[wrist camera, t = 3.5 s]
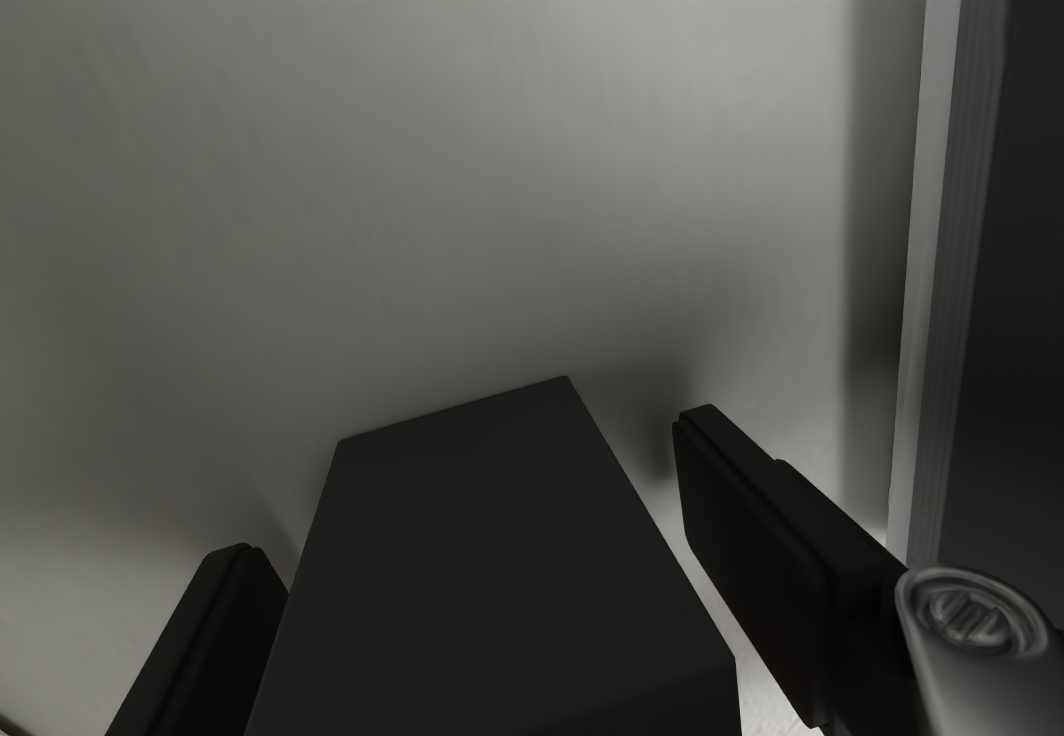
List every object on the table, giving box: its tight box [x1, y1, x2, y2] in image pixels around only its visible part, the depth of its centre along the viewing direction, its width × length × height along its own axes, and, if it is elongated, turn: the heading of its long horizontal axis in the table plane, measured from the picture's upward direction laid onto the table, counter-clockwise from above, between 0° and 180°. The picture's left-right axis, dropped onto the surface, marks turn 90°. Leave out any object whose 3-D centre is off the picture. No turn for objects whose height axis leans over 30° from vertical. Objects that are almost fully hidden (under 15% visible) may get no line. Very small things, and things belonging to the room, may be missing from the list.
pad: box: [244, 376, 742, 736], centre depth 8 cm, size 4×4×6 cm
